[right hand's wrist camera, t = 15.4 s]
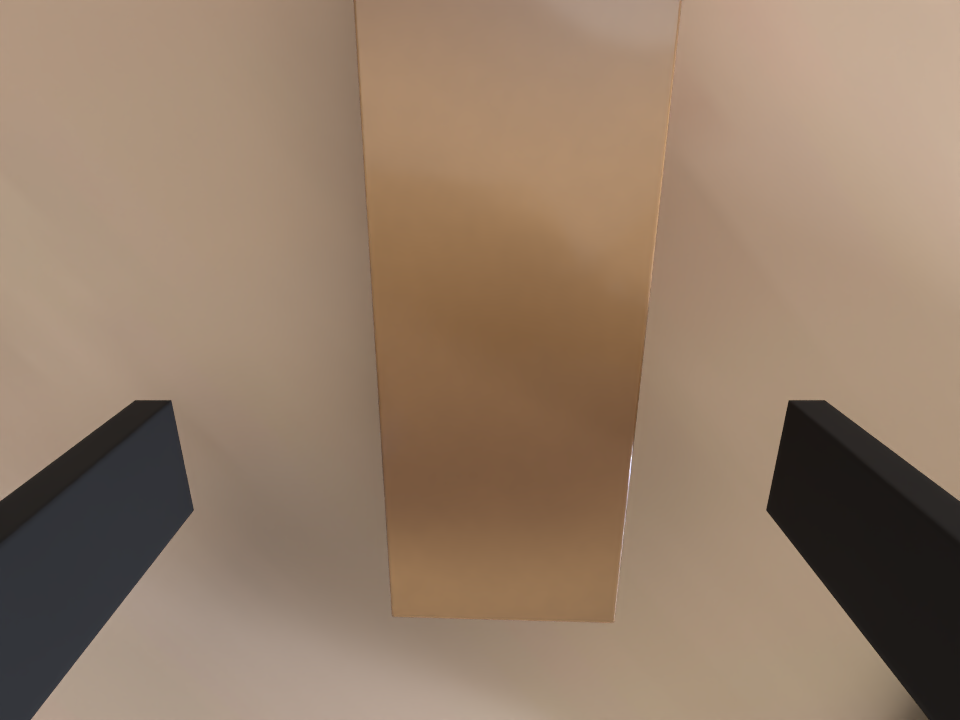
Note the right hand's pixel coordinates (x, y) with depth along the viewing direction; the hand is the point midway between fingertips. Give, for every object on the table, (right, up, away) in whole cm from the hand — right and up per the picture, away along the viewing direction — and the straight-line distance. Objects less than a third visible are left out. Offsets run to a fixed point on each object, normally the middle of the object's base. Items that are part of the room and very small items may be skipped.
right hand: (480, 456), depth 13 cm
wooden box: (+1, +13, +4) cm, 13 cm away
